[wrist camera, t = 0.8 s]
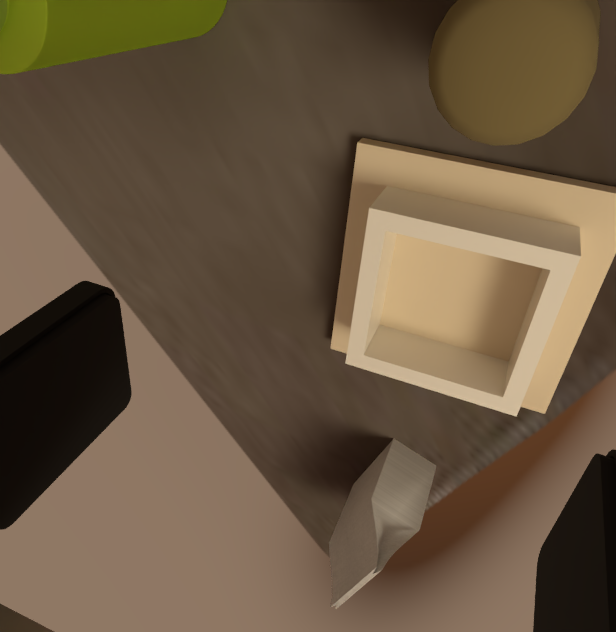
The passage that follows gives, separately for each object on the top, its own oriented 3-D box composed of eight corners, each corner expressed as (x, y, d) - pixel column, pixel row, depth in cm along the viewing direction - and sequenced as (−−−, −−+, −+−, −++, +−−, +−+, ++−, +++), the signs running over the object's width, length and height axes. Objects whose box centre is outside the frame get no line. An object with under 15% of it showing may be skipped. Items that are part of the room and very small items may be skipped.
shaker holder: (362, 137, 31) (335, 160, 27) (637, 191, 27) (647, 226, 23) (335, 340, 39) (311, 378, 35) (545, 403, 35) (542, 453, 31)
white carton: (353, 483, 45) (308, 592, 38) (393, 438, 41) (352, 550, 33) (392, 508, 45) (354, 623, 37) (436, 465, 41) (404, 585, 33)
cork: (552, 123, 27) (543, 200, 18) (437, 74, 28) (378, 125, 19) (632, -14, 23) (669, 0, 15) (497, -66, 24) (457, -82, 15)
